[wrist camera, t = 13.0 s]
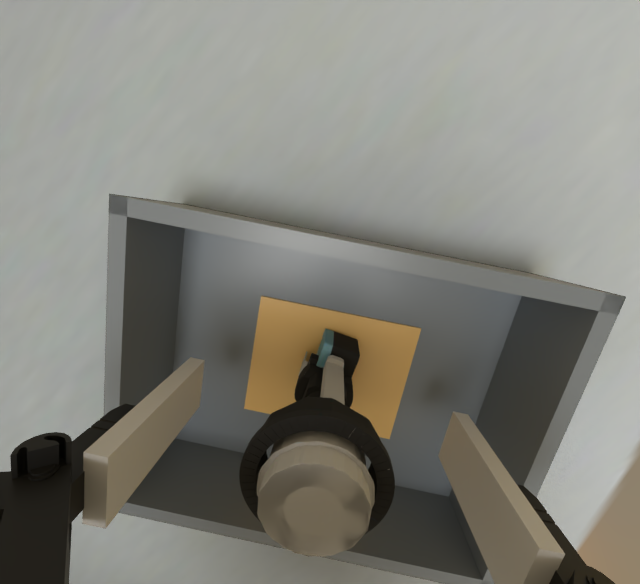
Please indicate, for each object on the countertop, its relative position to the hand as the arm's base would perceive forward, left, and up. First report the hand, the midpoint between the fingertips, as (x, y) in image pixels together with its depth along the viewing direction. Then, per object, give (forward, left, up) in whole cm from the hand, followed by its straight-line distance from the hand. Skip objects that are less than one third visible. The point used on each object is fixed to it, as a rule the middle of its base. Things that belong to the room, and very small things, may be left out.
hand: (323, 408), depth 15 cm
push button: (0, 0, -4) cm, 4 cm away
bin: (0, 0, -5) cm, 5 cm away
